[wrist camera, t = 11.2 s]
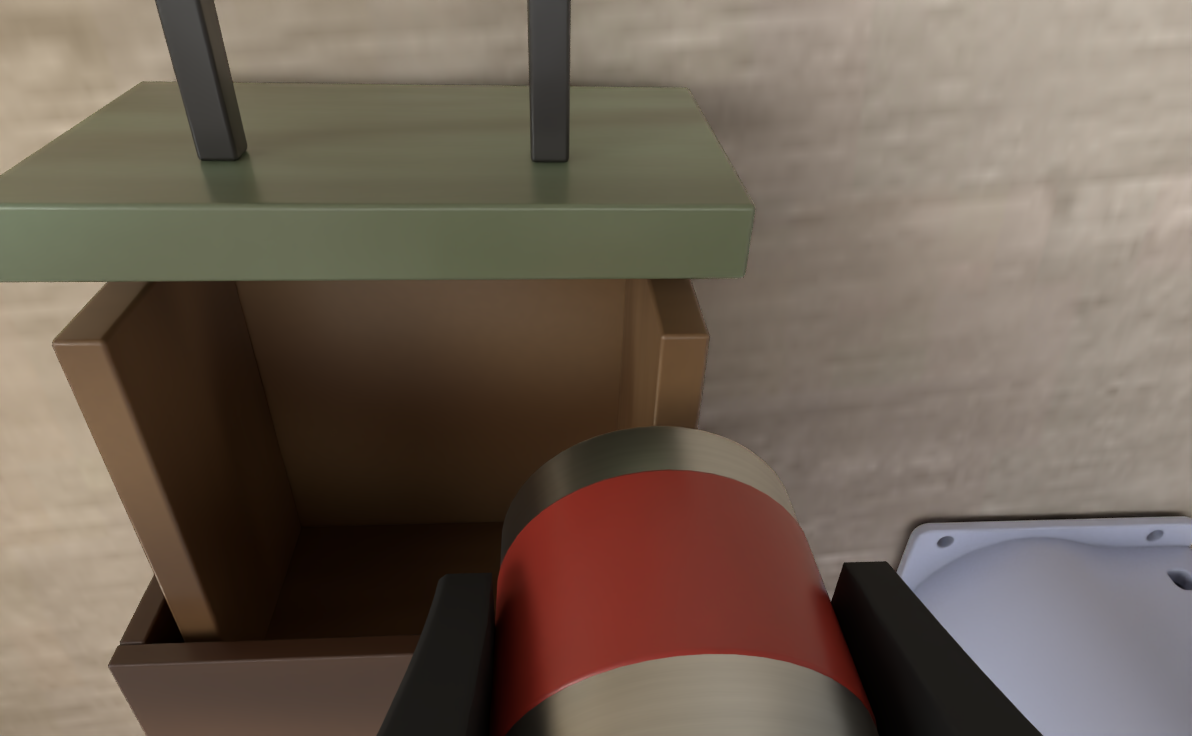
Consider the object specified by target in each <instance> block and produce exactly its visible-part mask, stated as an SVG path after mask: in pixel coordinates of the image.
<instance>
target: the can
mask: <svg viewBox="0 0 1192 736" xmlns="http://www.w3.org/2000/svg"><path fill="white" fill-rule="evenodd" d="M489 736H879V734H878V731H877V725H876V719H875V716H874V714H873V711H872V709H871V706H870V703H869V701H868V698H867V695H866V693H865V690H864V688H863V685H862V682H861V680H860V677H859V675H858V672H857V669H856V667H855V664H854V661H853V659H852V656H851V654H850V651H849V648H848V646H847V643H846V640H845V638H844V635H843V633H842V630H841V627H840V625H839V622H838V620H837V617H836V614H835V612H834V609H833V606H832V604H831V601H830V599H829V596H828V593H827V591H826V588H825V586H824V583H823V580H822V578H821V575H820V572H819V570H818V567H817V565H816V562H815V559H814V557H813V554H812V551H811V549H810V546H809V544H808V541H807V539H806V537H805V534H804V532H803V530H802V529H801V527H800V526H799V523H798V520H797V518H796V515H795V512H794V510H793V507H792V504H791V502H790V499H789V497H788V494H787V492H786V490H785V487H784V485H783V484H782V482H781V481H780V479H779V477H778V476H777V474H776V473H775V472H774V471H773V470H772V469H771V468H770V467H769V466H768V464H767V463H766V462H765V461H763V460H762V459H761V458H759V457H758V456H757V455H756V454H754V453H753V452H752V451H750V450H749V449H747V448H745V447H744V446H742V445H740V444H738V443H737V442H735V441H732V440H730V439H727V438H725V437H722V436H720V435H717V434H714V433H710V432H706V431H703V430H699V429H692V428H685V427H677V426H646V427H635V428H629V429H623V430H617V431H613V432H610V433H606V434H602V435H599V436H596V437H593V438H591V439H588V440H585V441H583V442H580V443H578V444H576V445H574V446H572V447H570V448H568V449H566V450H565V451H563V452H561V453H559V454H558V455H556V456H555V457H553V458H552V459H550V460H549V461H548V462H546V463H545V464H544V465H543V466H541V467H540V468H539V469H538V470H537V471H536V472H535V473H533V474H532V476H531V477H530V478H529V479H528V480H527V481H526V482H525V484H524V485H523V486H522V487H521V488H520V490H519V491H518V493H517V495H516V496H515V498H514V499H513V501H512V502H511V505H510V507H509V509H508V512H507V514H506V516H505V520H504V525H503V529H502V543H501V562H500V571H499V576H498V581H497V599H496V617H495V645H494V664H493V684H492V697H491V707H490V725H489Z"/></svg>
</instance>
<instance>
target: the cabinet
mask: <svg viewBox="0 0 1192 736" xmlns="http://www.w3.org/2000/svg"><path fill="white" fill-rule="evenodd" d="M420 636H421V634H411V635H383V636H354V637H326V638H298V639H270V640H241V641H213V642H184V639H183V637H182V635H181V633H180V630H179V628H178V626H177V624H176V621H175V619H174V617H173V615H172V612H171V610H170V608H169V606H168V604H167V601H166V599H165V597H164V595H163V592H162V590H161V588H160V586H159V583H158V581H157V579H156V577H155V574H154V576H153V578H152V580H151V582H150V584H149V586H148V588H147V590H146V591H145V593H144V595H143V597H142V599H141V601H140V603H139V605H138V607H137V609H136V611H135V613H134V615H133V617H132V619H131V621H130V623H129V625H128V627H127V629H126V631H125V633H124V635H123V637H122V639H121V641H120V645H119V646H118V647H117V648H116V650H115V652H114V654H113V656H112V658H111V660H110V662H109V665H108V668H109V670H110V671H111V673H112V675H113V677H114V679H115V680H116V682H117V684H118V686H119V687H120V689H121V691H122V693H123V695H124V696H125V698H126V700H127V702H128V704H129V705H130V707H131V709H132V711H133V713H134V714H135V716H136V718H137V720H138V722H139V723H140V725H141V727H142V729H143V731H144V732H145V734H146V736H376V735H377V733H378V731H379V729H380V727H381V725H382V723H383V721H384V719H385V716H386V714H387V712H388V710H389V708H390V706H391V703H392V701H393V699H394V697H395V695H396V693H397V690H398V688H399V686H400V684H401V682H402V679H403V677H404V675H405V673H406V670H407V668H408V666H409V663H410V661H411V658H412V656H413V653H414V651H415V649H416V646H417V644H418V641H419V639H420Z"/></svg>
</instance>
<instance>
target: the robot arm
mask: <svg viewBox="0 0 1192 736" xmlns="http://www.w3.org/2000/svg"><path fill="white" fill-rule="evenodd" d="M1191 544H1192V518H1190V517H1187V516H1169V517H1133V518H1096V519H1059V520H1022V521H985V522H948V523H926V524H922V525H920V526H918V527H916V528H915V529H914V530H913V532H912V533H911V535H910V537H909V540H908V543H907V545H906V548H905V551H904V553H903V556H902V559H901V561H900V564H899V567H898V569H897V572H895V570H894V569H893V568H892V567H891V566H890V565H889V564H888V563H887V562H886V561H884V562H849V563H844V564H843V567H842V570H841V573H840V576H839V579H838V582H837V586H836V589H835V592H834V595H833V598H832V601H831V604H832V606H833V609H834V612H835V614H836V617H837V620H838V622H839V625H840V627H841V630H842V633H843V635H844V638H845V640H846V643H847V646H848V648H849V651H850V654H851V656H852V659H853V661H854V664H855V667H856V669H857V672H858V675H859V677H860V680H861V682H862V685H863V688H864V690H865V693H866V695H867V698H868V701H869V703H870V706H871V709H872V711H873V714H874V716H875V719H876V725H877V731H878V734H879V736H1192V549H1191V548H1190V547H1189V546H1190V545H1191ZM494 645H495V613H494V597H493V582H492V573H459V574H446V575H444V576H443V577H442V578H440V579H439V581H438V584H437V588H436V592H435V595H434V599H433V602H432V605H431V608H430V611H429V614H428V617H427V620H426V623H425V625H424V628H423V631H422V633H421V636H420V639H419V641H418V644H417V646H416V649H415V651H414V653H413V656H412V658H411V661H410V663H409V666H408V668H407V670H406V673H405V675H404V677H403V679H402V682H401V684H400V686H399V688H398V690H397V693H396V695H395V697H394V699H393V701H392V703H391V706H390V708H389V710H388V712H387V714H386V716H385V719H384V721H383V723H382V725H381V727H380V729H379V731H378V733H377V735H376V736H489V725H490V707H491V697H492V684H493V664H494Z"/></svg>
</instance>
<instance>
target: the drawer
mask: <svg viewBox="0 0 1192 736" xmlns="http://www.w3.org/2000/svg"><path fill="white" fill-rule="evenodd" d="M155 2H156V6H157V9H158V13H159V17H160V20H161V24H162V28H163V31H164V35H165V39H166V42H167V46H168V50H169V53H170V57H171V61H172V64H173V68H174V72H175V75H176V79H177V82H147V81H143V82H141V83H139V84H137V85H136V86H134V87H133V88H131V89H130V90H128V91H127V92H125V93H124V94H122V95H121V96H119V97H118V98H116V99H115V100H113V101H112V102H110V103H109V104H107V105H106V106H104V107H103V108H101V109H100V110H98V111H97V112H95V113H94V114H92V115H91V116H89V117H88V118H86V119H85V120H83V121H82V122H80V123H79V124H77V125H76V126H74V127H73V128H71V129H70V130H68V131H67V132H65V133H64V134H62V135H61V136H59V137H58V138H56V139H55V140H53V141H51V142H50V143H48V144H47V145H45V146H44V147H42V148H41V149H39V150H38V151H36V152H35V153H33V154H32V155H30V156H29V157H27V158H26V159H24V160H23V161H21V162H20V163H18V164H17V165H15V166H14V167H12V168H11V169H9V170H8V171H6V172H5V173H3V174H2V175H0V282H107V283H106V284H105V285H104V286H103V287H102V288H101V289H100V290H99V291H98V292H97V293H96V295H95V296H94V297H93V298H92V299H91V300H90V301H89V302H88V303H87V304H86V305H85V306H84V307H83V309H82V310H81V311H80V312H79V313H78V314H77V315H76V316H75V317H74V318H73V319H72V320H71V321H70V323H69V324H68V325H67V326H66V327H65V328H64V329H63V330H62V331H61V332H60V333H59V334H58V335H57V337H56V338H55V339H54V340H53V342H52V346H53V349H54V351H55V353H56V355H57V358H58V360H59V362H60V364H61V366H62V369H63V371H64V373H65V375H66V378H67V380H68V382H69V384H70V387H71V389H72V391H73V393H74V396H75V398H76V400H77V402H78V405H79V407H80V409H81V411H82V413H83V416H84V418H85V420H86V422H87V425H88V427H89V429H90V431H91V434H92V436H93V438H94V440H95V443H96V445H97V447H98V449H99V451H100V454H101V456H102V458H103V460H104V463H105V465H106V467H107V469H108V472H109V474H110V476H111V478H112V481H113V483H114V485H115V487H116V489H117V492H118V494H119V496H120V498H121V501H122V503H123V505H124V507H125V510H126V512H127V514H128V516H129V519H130V521H131V523H132V525H133V527H134V530H135V532H136V534H137V536H138V539H139V541H140V543H141V545H142V548H143V550H144V552H145V554H146V557H147V559H148V561H149V563H150V566H151V568H152V570H153V572H154V574H155V577H156V579H157V581H158V583H159V586H160V588H161V590H162V592H163V595H164V597H165V599H166V601H167V604H168V606H169V608H170V610H171V612H172V615H173V617H174V619H175V621H176V624H177V626H178V628H179V630H180V633H181V635H182V637H183V639H184V642H213V641H241V640H270V639H298V638H326V637H354V636H383V635H411V634H421V633H422V631H423V628H424V625H425V623H426V620H427V617H428V614H429V611H430V608H431V605H432V602H433V599H434V595H435V592H436V588H437V584H438V581H439V579H440V578H442V577H443V576H444V575H446V574H459V573H492V582H493V597H494V613H495V617H496V599H497V581H498V576H499V571H500V562H501V543H502V529H503V525H504V520H505V516H506V514H507V512H508V509H509V507H510V505H511V502H512V501H513V499H514V498H515V496H516V495H517V493H518V491H519V490H520V488H521V487H522V486H523V485H524V484H525V482H526V481H527V480H528V479H529V478H530V477H531V476H532V474H533V473H535V472H536V471H537V470H538V469H539V468H540V467H541V466H543V465H544V464H545V463H546V462H548V461H549V460H550V459H552V458H553V457H555V456H556V455H558V454H559V453H561V452H563V451H565V450H566V449H568V448H570V447H572V446H574V445H576V444H578V443H580V442H583V441H585V440H588V439H591V438H593V437H596V436H599V435H602V434H606V433H610V432H613V431H617V430H623V429H629V428H635V427H646V426H677V427H685V428H692V429H698V423H699V415H700V408H701V400H702V393H703V385H704V378H705V370H706V363H707V355H708V348H709V340H710V336H709V333H708V330H707V327H706V324H705V321H704V318H703V315H702V312H701V309H700V306H699V303H698V300H697V297H696V294H695V291H694V288H693V285H692V282H691V279H709V278H743V277H744V275H745V273H746V267H747V260H748V254H749V248H750V241H751V235H752V228H753V222H754V215H755V205H754V203H753V201H752V200H751V198H750V196H749V194H748V192H747V191H746V189H745V187H744V185H743V184H742V182H741V180H740V178H739V177H738V175H737V173H736V171H735V170H734V168H733V166H732V164H731V162H730V161H729V159H728V157H727V155H726V154H725V152H724V150H723V148H722V147H721V145H720V143H719V141H718V140H717V138H716V136H715V134H714V132H713V131H712V129H711V127H710V125H709V124H708V122H707V120H706V118H705V117H704V115H703V113H702V111H701V109H700V108H699V106H698V104H697V102H696V101H695V99H694V97H693V95H692V94H691V92H690V90H689V89H688V88H676V87H588V86H570V30H571V0H527V5H528V53H529V86H499V85H411V84H323V83H235V82H233V81H232V77H231V73H230V68H229V64H228V60H227V56H226V51H225V47H224V43H223V38H222V34H221V30H220V26H219V21H218V17H217V13H216V8H215V4H214V0H155Z"/></svg>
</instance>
